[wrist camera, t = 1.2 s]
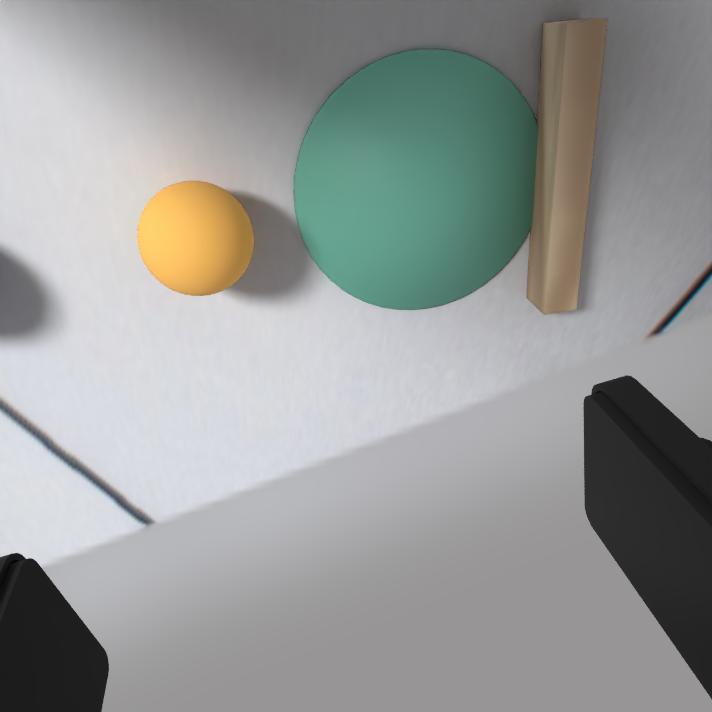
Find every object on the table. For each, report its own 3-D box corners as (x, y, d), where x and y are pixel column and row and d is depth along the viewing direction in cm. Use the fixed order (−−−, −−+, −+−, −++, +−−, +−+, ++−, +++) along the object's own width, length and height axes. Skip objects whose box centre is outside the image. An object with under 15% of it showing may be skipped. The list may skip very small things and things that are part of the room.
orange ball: (134, 251, 31) (115, 292, 27) (162, 152, 29) (147, 177, 25) (234, 284, 33) (232, 328, 29) (267, 193, 31) (272, 224, 26)
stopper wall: (526, 297, 37) (544, 314, 35) (543, 23, 29) (566, 23, 27) (557, 292, 37) (576, 309, 35) (581, 18, 30) (607, 18, 27)
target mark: (311, 325, 35) (312, 326, 35) (273, 66, 28) (274, 66, 28) (534, 289, 37) (536, 290, 37) (552, 33, 30) (554, 34, 29)
